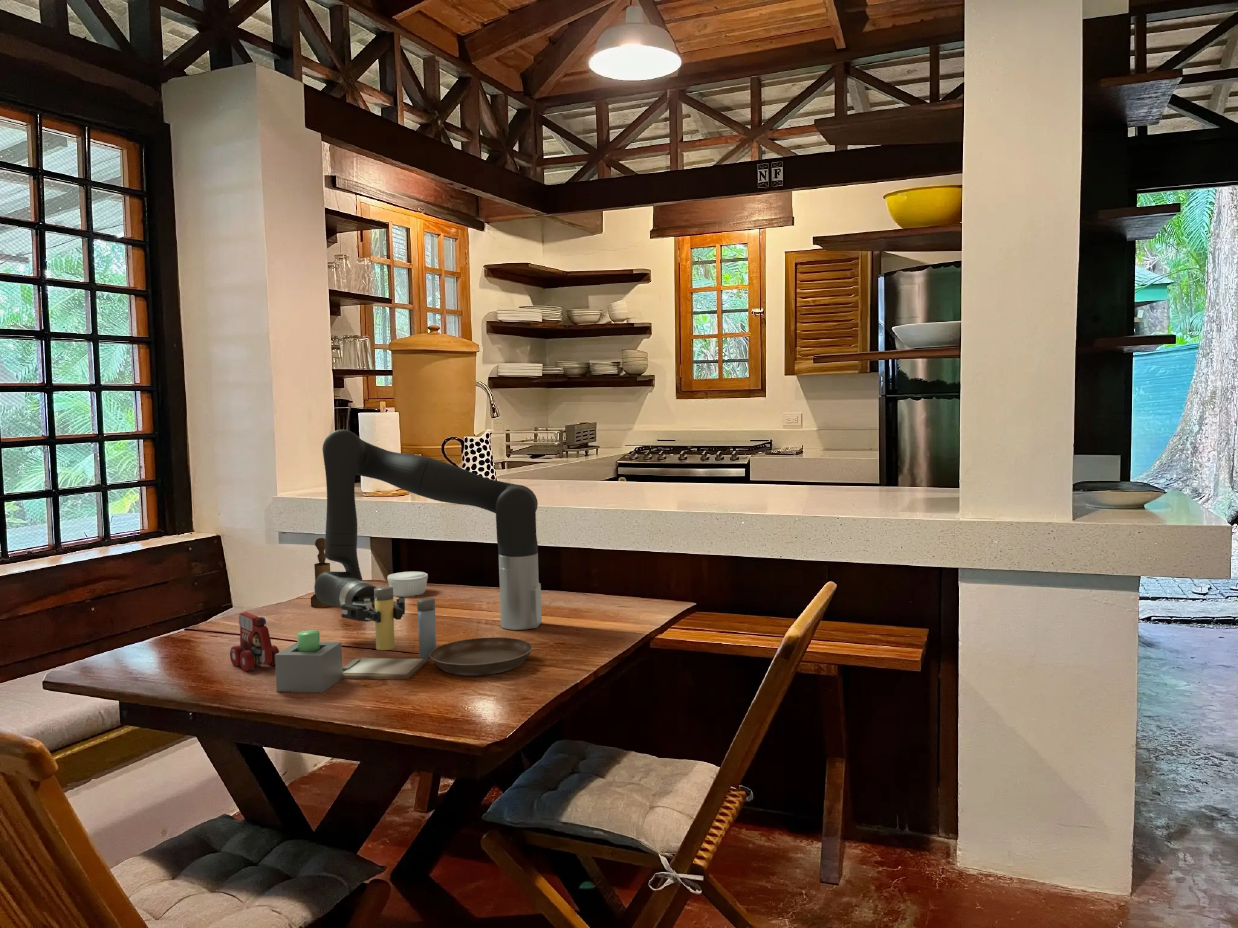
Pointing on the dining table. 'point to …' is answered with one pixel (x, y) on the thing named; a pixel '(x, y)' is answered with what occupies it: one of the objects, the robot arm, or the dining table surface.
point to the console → (309, 668)
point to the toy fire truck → (253, 643)
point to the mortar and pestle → (320, 570)
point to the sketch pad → (383, 668)
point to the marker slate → (426, 626)
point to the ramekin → (408, 583)
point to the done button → (308, 641)
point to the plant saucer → (481, 655)
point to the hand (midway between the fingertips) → (389, 615)
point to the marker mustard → (384, 618)
